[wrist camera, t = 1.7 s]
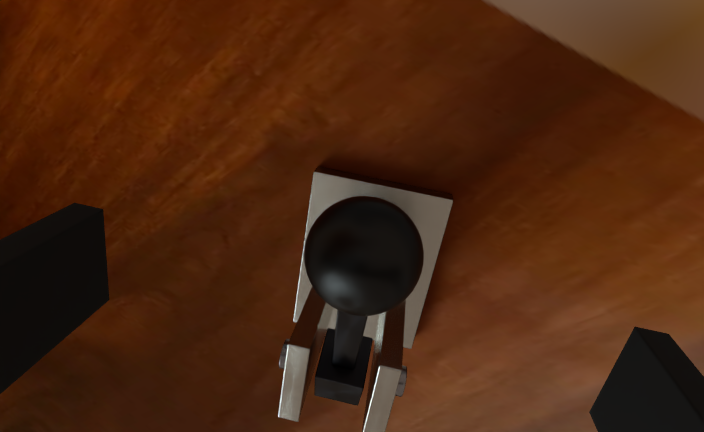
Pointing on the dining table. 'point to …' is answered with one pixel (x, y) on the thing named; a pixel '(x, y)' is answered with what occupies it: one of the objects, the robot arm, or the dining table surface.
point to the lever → (358, 282)
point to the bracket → (384, 328)
